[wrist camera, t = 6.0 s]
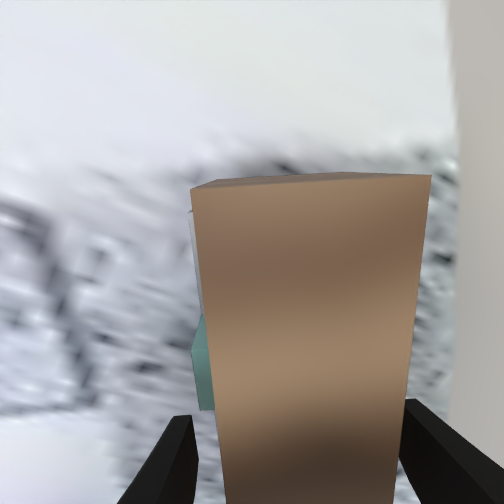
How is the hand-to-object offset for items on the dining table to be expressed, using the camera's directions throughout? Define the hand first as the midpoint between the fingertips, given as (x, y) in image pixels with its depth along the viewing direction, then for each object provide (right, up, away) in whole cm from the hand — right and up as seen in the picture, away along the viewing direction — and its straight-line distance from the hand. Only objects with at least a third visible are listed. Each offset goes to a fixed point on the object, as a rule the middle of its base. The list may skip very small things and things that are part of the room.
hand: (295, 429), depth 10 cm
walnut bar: (0, +2, +2) cm, 3 cm away
